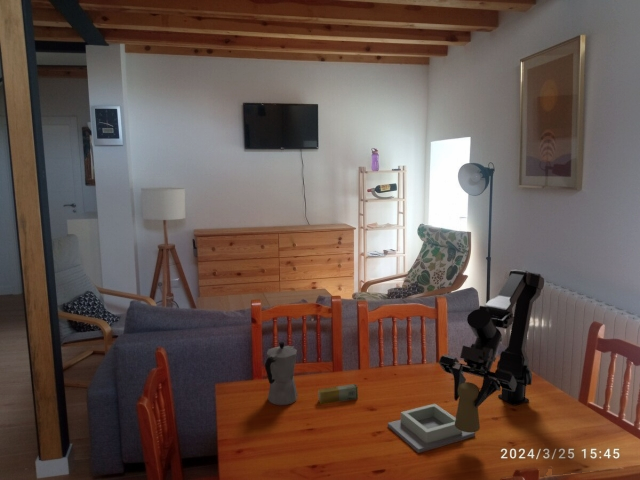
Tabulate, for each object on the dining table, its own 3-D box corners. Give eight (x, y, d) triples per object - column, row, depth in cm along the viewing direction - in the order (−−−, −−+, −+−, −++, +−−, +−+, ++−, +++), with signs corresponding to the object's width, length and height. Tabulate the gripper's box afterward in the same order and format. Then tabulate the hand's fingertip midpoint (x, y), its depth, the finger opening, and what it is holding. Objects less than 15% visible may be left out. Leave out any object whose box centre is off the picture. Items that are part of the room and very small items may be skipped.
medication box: (355, 395, 152) (355, 383, 152) (358, 399, 150) (358, 386, 149) (318, 401, 149) (317, 388, 148) (320, 405, 146) (320, 392, 146)
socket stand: (440, 412, 141) (441, 399, 141) (475, 436, 129) (475, 421, 128) (387, 426, 134) (387, 412, 133) (418, 453, 121) (418, 438, 121)
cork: (479, 434, 119) (481, 391, 117) (454, 430, 121) (455, 388, 119) (479, 421, 125) (481, 380, 123) (455, 418, 127) (456, 378, 125)
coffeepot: (280, 386, 158) (279, 333, 156) (306, 392, 154) (305, 337, 151) (253, 407, 145) (252, 349, 142) (281, 414, 140) (280, 354, 138)
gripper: (442, 324, 128) (420, 378, 122) (514, 341, 116) (494, 401, 110) (455, 345, 135) (435, 397, 129) (524, 362, 123) (506, 420, 117)
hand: (465, 403), depth 121 cm, fingers closed on cork, 5 cm apart
